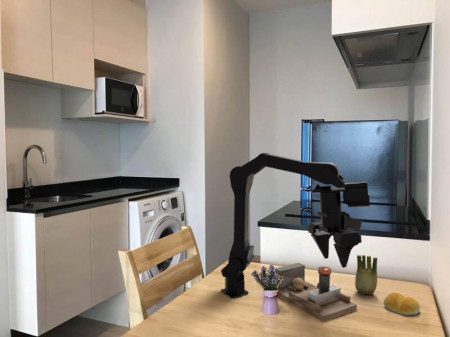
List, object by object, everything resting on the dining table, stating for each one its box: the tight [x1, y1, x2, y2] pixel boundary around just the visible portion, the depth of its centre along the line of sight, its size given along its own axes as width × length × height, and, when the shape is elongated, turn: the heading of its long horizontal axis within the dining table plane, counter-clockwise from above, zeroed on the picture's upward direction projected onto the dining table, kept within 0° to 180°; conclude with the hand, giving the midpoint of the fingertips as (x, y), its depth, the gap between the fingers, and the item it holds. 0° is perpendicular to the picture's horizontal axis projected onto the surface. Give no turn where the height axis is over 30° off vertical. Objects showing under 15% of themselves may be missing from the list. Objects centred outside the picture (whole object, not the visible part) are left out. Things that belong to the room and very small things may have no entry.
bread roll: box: [383, 292, 421, 316], centre depth 104 cm, size 8×9×4 cm
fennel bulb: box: [354, 254, 378, 296], centre depth 113 cm, size 6×5×12 cm
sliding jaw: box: [307, 266, 342, 306], centre depth 104 cm, size 4×10×9 cm, turn 122°
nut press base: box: [273, 262, 358, 323], centre depth 108 cm, size 22×13×8 cm, turn 32°
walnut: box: [293, 278, 304, 290], centre depth 113 cm, size 4×4×4 cm
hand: (334, 262), depth 103 cm, fingers open, 9 cm apart
